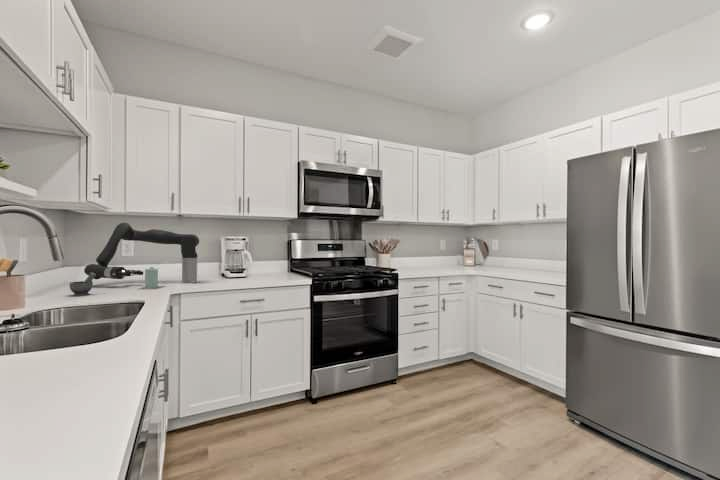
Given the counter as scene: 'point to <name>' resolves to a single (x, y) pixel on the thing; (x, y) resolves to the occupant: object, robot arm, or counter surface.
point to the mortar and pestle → (82, 286)
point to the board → (153, 288)
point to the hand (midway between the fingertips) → (136, 273)
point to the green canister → (151, 278)
